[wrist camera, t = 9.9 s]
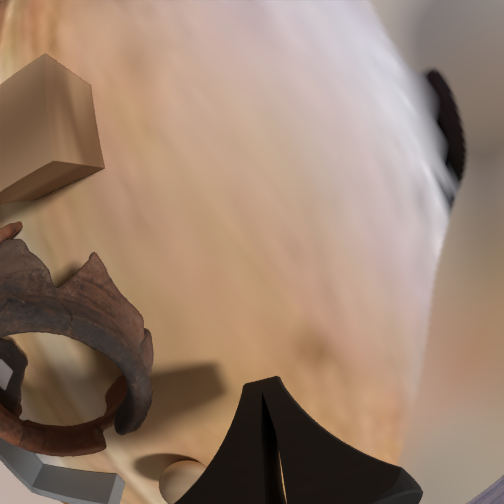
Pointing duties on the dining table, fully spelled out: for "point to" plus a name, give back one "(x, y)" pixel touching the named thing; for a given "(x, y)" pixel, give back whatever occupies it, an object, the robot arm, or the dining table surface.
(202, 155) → the dining table surface
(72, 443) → the pottery mug
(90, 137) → the walnut block
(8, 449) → the corral
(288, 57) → the dining table surface
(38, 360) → the dining table surface
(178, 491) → the cork ball
